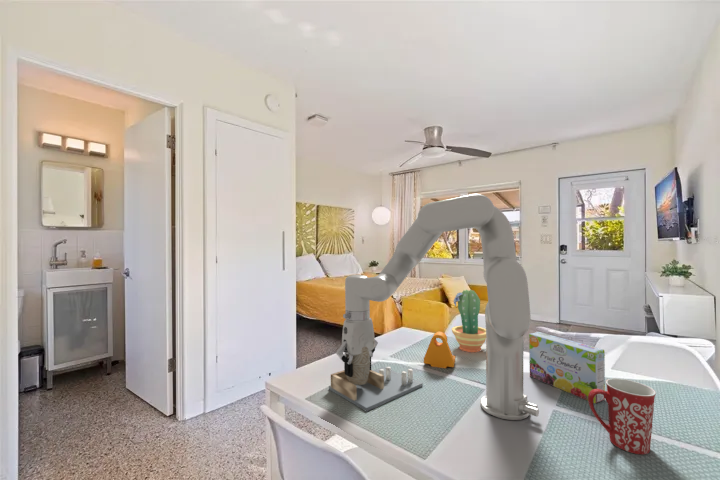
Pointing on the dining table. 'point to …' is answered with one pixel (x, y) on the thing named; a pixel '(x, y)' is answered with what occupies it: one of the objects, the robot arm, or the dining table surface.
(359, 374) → the carving
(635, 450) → the mug
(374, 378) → the end holder
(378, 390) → the board
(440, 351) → the bracket
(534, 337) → the snack box
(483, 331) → the potted cactus
